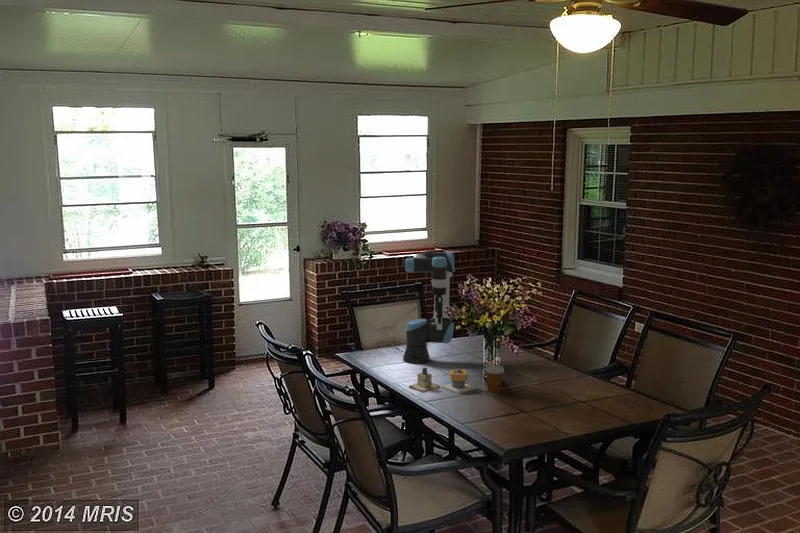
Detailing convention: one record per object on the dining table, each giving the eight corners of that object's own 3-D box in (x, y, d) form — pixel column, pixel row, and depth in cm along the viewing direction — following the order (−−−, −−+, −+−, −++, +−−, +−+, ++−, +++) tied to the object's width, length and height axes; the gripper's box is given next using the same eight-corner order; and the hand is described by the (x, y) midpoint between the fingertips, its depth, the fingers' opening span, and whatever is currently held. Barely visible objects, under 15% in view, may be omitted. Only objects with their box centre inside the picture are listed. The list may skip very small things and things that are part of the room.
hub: (458, 383, 376) (458, 364, 375) (475, 388, 367) (475, 369, 366) (441, 388, 369) (441, 368, 367) (458, 393, 360) (458, 374, 358)
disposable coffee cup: (503, 394, 359) (503, 370, 357) (483, 393, 361) (484, 369, 359) (504, 388, 368) (505, 365, 367) (485, 387, 370) (485, 364, 368)
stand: (426, 382, 377) (426, 364, 375) (440, 387, 369) (440, 368, 368) (408, 387, 369) (409, 368, 367) (422, 392, 361) (422, 372, 360)
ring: (449, 376, 371) (450, 369, 371) (465, 376, 371) (465, 369, 371) (451, 381, 363) (451, 374, 363) (467, 381, 363) (467, 374, 363)
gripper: (430, 282, 394) (429, 321, 397) (433, 291, 369) (432, 332, 373) (444, 282, 394) (443, 321, 397) (448, 291, 370) (447, 332, 373)
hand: (438, 326), depth 385 cm, fingers open, 13 cm apart
